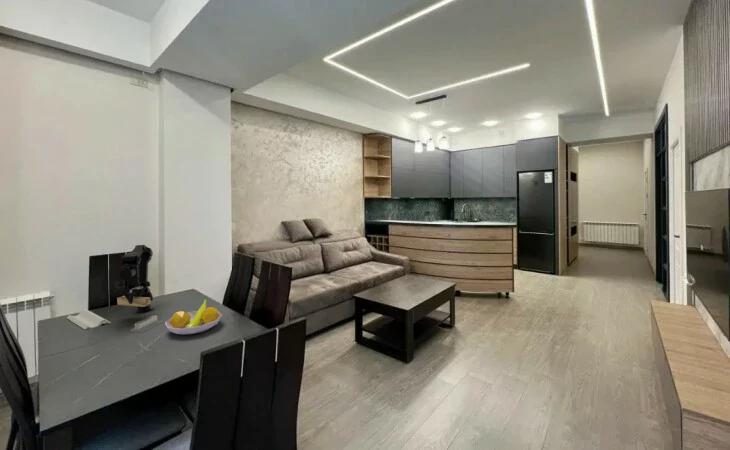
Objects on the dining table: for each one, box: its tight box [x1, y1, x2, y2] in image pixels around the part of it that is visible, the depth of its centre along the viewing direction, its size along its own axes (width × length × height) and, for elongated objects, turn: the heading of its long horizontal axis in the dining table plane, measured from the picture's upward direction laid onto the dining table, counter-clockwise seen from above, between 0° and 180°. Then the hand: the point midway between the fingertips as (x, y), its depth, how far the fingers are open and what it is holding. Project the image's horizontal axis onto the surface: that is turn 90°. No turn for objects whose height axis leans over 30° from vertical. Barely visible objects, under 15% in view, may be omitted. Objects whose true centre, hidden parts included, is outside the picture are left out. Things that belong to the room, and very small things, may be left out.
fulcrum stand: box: [128, 315, 164, 333], centre depth 168 cm, size 14×8×4 cm, turn 175°
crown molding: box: [66, 308, 112, 330], centre depth 178 cm, size 31×12×4 cm, turn 57°
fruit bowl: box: [164, 299, 223, 336], centre depth 166 cm, size 28×27×11 cm
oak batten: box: [116, 295, 151, 307], centre depth 176 cm, size 4×18×4 cm, turn 80°
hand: (134, 302), depth 176 cm, fingers closed on oak batten, 4 cm apart
